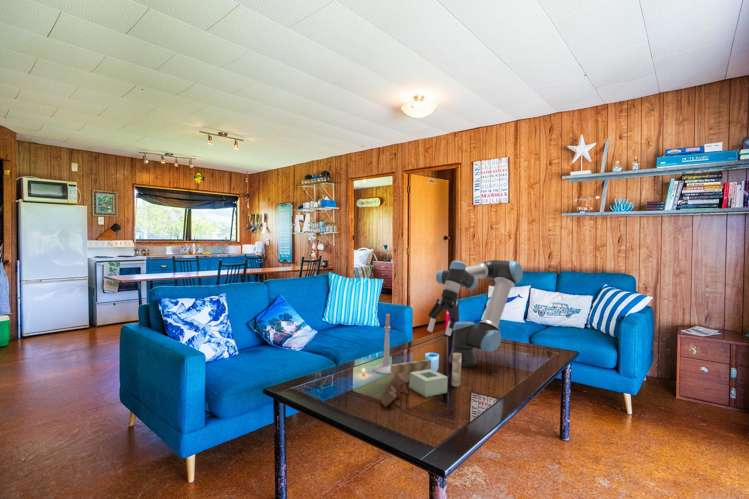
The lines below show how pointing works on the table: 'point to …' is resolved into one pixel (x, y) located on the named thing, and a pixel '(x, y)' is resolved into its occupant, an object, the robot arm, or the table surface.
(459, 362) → the dowel
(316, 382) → the table surface
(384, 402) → the wooden block set
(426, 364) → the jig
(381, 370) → the candlestick
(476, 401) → the table surface
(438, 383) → the sliding block
